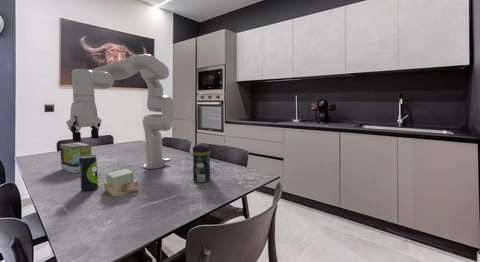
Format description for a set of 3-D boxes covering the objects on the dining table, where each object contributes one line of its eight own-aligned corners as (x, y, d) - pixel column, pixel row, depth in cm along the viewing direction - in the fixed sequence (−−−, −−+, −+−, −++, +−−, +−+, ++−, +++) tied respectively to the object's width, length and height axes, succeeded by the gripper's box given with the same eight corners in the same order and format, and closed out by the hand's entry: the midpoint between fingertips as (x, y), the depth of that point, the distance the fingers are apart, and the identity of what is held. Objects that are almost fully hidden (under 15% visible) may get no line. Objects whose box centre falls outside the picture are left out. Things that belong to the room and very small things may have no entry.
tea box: (93, 169, 134) (91, 144, 132) (73, 173, 125) (71, 146, 124) (80, 165, 142) (79, 141, 140) (60, 169, 134) (59, 143, 132)
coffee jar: (196, 177, 122) (196, 141, 120) (211, 177, 121) (211, 142, 119) (191, 183, 112) (190, 145, 110) (207, 183, 112) (207, 145, 110)
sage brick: (126, 177, 106) (125, 168, 105) (134, 181, 100) (133, 172, 100) (107, 182, 100) (106, 173, 99) (114, 187, 95) (113, 177, 94)
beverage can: (79, 190, 102) (76, 156, 100) (94, 186, 106) (92, 154, 105) (84, 193, 98) (82, 158, 96) (100, 189, 103) (98, 156, 101)
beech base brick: (130, 185, 108) (129, 175, 107) (139, 191, 101) (138, 180, 100) (105, 193, 101) (104, 182, 100) (114, 199, 94) (112, 188, 93)
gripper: (91, 100, 107) (93, 137, 109) (57, 98, 90) (60, 142, 92) (106, 100, 106) (108, 137, 108) (74, 99, 89) (77, 143, 91)
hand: (86, 140), depth 100 cm, fingers open, 9 cm apart
